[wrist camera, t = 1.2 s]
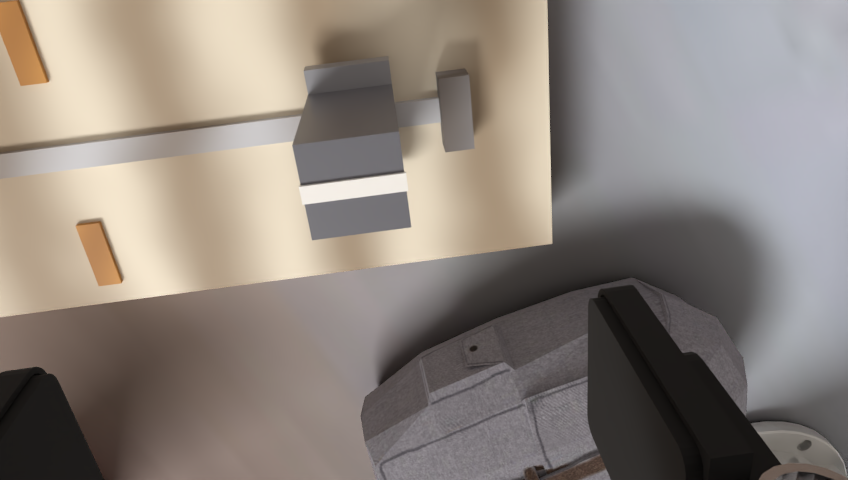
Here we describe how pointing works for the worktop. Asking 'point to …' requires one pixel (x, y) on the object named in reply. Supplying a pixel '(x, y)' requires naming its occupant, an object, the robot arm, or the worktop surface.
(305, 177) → the fader
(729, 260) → the worktop surface
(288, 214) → the console
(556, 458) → the small grey backpack
